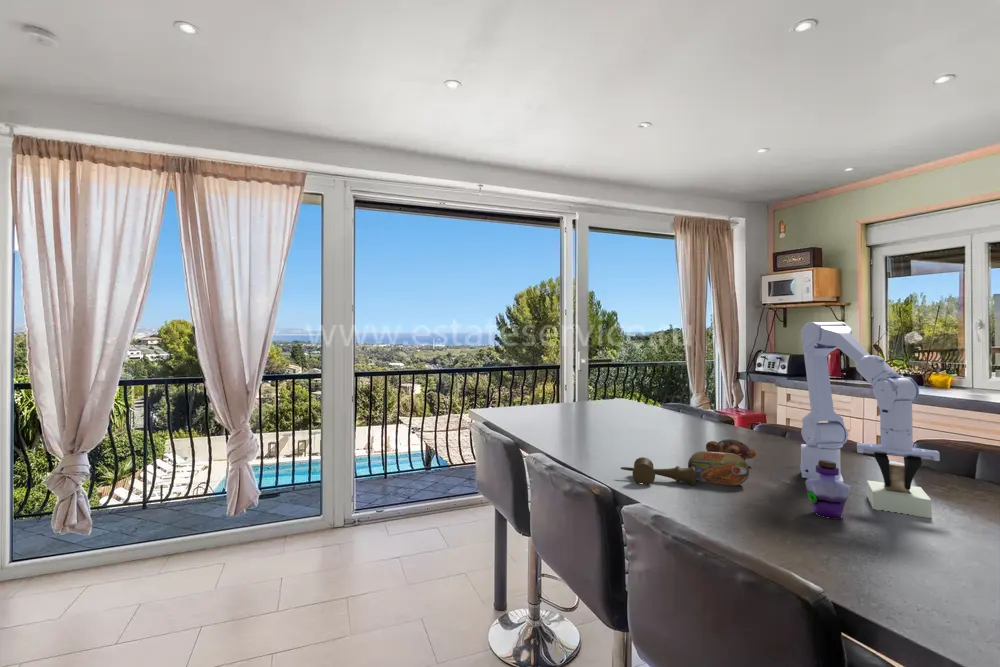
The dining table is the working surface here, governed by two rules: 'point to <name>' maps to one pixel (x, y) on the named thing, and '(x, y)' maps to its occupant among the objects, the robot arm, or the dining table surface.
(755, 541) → the dining table surface
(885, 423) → the robot arm
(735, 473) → the tin
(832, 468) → the potion bottle
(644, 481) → the kendama
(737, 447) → the decorative turtle
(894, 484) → the peg
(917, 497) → the socket block
